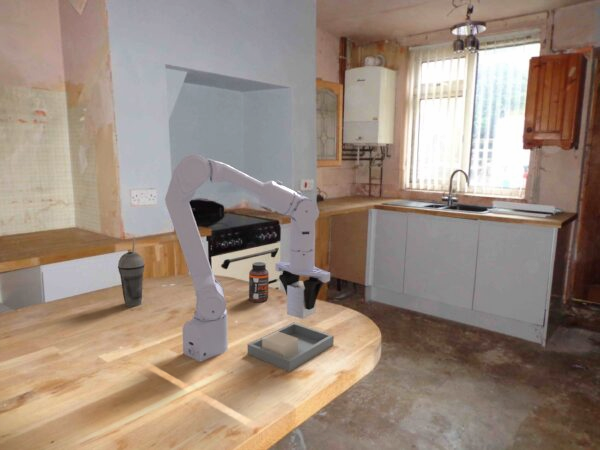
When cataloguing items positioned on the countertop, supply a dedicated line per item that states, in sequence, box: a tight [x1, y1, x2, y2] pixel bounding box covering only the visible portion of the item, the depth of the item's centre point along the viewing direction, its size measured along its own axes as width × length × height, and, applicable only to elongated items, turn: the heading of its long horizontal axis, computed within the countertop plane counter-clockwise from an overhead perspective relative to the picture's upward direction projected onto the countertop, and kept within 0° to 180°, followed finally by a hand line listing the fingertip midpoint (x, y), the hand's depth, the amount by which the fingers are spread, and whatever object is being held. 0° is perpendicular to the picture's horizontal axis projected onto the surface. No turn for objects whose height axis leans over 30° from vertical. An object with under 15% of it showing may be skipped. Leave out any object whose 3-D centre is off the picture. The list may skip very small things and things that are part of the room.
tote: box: [247, 322, 335, 373], centre depth 96 cm, size 16×12×3 cm
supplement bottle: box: [248, 261, 270, 303], centre depth 129 cm, size 6×6×11 cm
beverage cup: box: [117, 236, 146, 308], centre depth 123 cm, size 7×7×20 cm
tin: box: [286, 280, 317, 320], centre depth 99 cm, size 5×5×7 cm
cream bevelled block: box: [261, 330, 298, 359], centre depth 93 cm, size 5×6×4 cm
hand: (301, 305), depth 99 cm, fingers closed on tin, 5 cm apart
